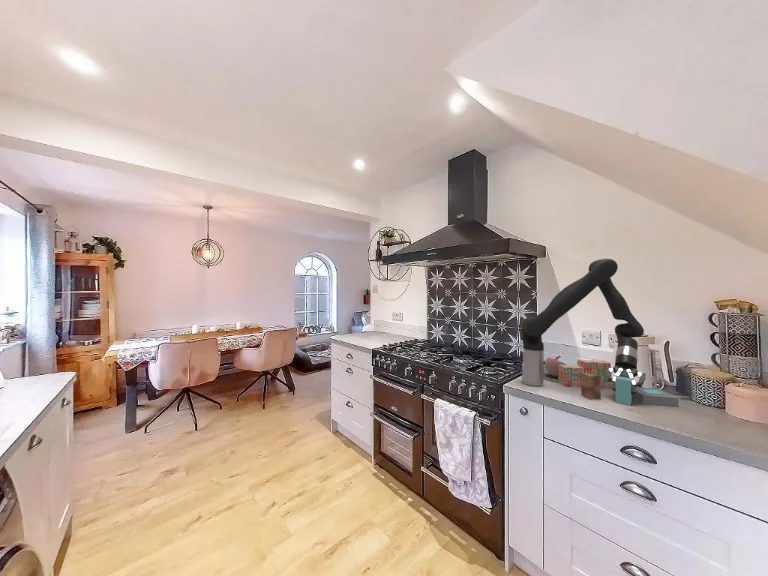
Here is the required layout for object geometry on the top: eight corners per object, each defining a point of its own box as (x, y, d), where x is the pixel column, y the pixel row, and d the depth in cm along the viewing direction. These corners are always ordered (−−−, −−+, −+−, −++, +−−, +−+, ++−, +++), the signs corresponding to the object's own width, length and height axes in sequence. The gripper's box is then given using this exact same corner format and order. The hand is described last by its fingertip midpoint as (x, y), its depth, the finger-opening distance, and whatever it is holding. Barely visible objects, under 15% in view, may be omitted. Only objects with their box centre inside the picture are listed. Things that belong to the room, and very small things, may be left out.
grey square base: (643, 404, 122) (643, 394, 122) (627, 395, 134) (627, 385, 134) (678, 408, 119) (678, 397, 120) (658, 397, 131) (658, 388, 131)
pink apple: (575, 379, 156) (575, 357, 157) (557, 380, 153) (557, 358, 153) (557, 373, 168) (557, 353, 168) (539, 374, 165) (539, 353, 165)
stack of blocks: (564, 386, 145) (564, 361, 145) (558, 382, 151) (558, 358, 151) (611, 388, 143) (611, 362, 143) (602, 384, 149) (602, 359, 149)
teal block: (615, 402, 124) (615, 378, 124) (616, 399, 128) (617, 375, 128) (630, 405, 120) (631, 380, 121) (632, 402, 124) (632, 378, 124)
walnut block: (589, 399, 127) (589, 376, 127) (581, 395, 132) (581, 372, 132) (600, 399, 127) (600, 376, 127) (592, 395, 132) (592, 372, 132)
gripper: (605, 351, 135) (601, 383, 126) (647, 356, 125) (646, 391, 116) (607, 360, 138) (603, 392, 130) (648, 366, 128) (646, 401, 120)
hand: (623, 392), depth 123 cm, fingers closed on teal block, 5 cm apart
